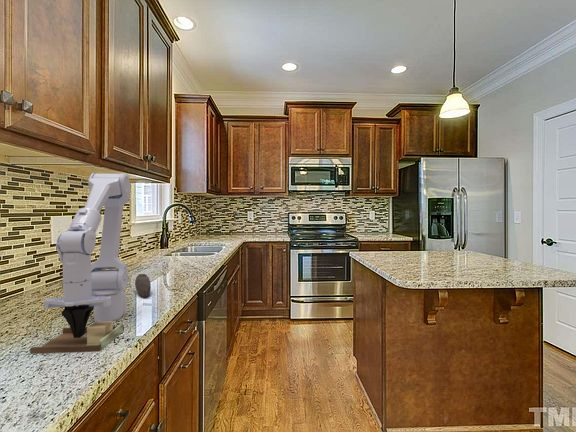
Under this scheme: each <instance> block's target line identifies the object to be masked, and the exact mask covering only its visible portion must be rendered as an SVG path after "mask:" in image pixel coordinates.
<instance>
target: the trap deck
mask: <svg viewBox="0 0 576 432" xmlns="http://www.w3.org/2000/svg"><path fill="white" fill-rule="evenodd" d="M87 327H88V326H86V328H85V333H84V335H87ZM124 331H125V325H123V323H120V324H119V325H115V326H114V325H113V330H112V331H111V332H110V333H108V334H107V335H106V336H105V337H103V338H102V339H101V340H100V341H98V342H99V344H87V336H84V335H83V336H82V337H80V338H74V336H73V333H72V330H71V328H70V327H63V328H62V333H61V334H59V335H58V336H56V337H55V338H53V339H52V340H50V341H48V342H46V343H44V345H42V346H31V347H30V348H29V354H30V355H33V354H35V355H36V354H62V353H63V354H64V353H92V352H93V353H95V352H101V351H102V350H104V349H105V348H106V347H107V346H109V344H111V343H112V342H113V341H114V340H115V339H116V338H118V336H119V335H121V334H122V333H123V332H124Z"/></svg>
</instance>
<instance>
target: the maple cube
mask: <svg viewBox="0 0 576 432" xmlns="http://www.w3.org/2000/svg"><path fill="white" fill-rule="evenodd" d="M113 323H114V322H113V321H101V322H96V321H95V322H93V323H92V324H90V325H89V326H86V327H87V333H86V337H87V344H99V342H98V341H100V340H101V339H102V338H103V337H105V336H106V335H107V334H108V333H110V332H111V331H112V330H113V326H114V325H113Z"/></svg>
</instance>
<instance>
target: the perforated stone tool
mask: <svg viewBox="0 0 576 432" xmlns="http://www.w3.org/2000/svg"><path fill="white" fill-rule="evenodd" d="M134 285H135V286H134V287H135V289H136V292H137V294H139V296H141V297H148V296H149V295H150V293H151V289H152V284H151V281H150V277H149V276H148V275H147V274H146V273H139V274H137V276H136V277H135V281H134Z"/></svg>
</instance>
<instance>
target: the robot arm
mask: <svg viewBox="0 0 576 432" xmlns="http://www.w3.org/2000/svg"><path fill="white" fill-rule="evenodd" d="M87 183H88V188H89V195H88V197H87V200H86V203H85V205H84V207H81V208H78V210H77V211H76V212H75V215H74V217H73V219H72V220H71V223H70V225H69V226H68V229H67V230H64V231H63V232H61V233H59V235H58V236H57V239H56V243H55V249H56V251H57V253H58V255H59V256H58V257H59V258H58V259H59V261H60V263H62V286H63V287H62V290H63V291H62V292H63V293H62V295H63V296H61V297H49V298H47V299H44V300H43V309H51V308H64V309H63V310H62V311H61V315H62V317H63V318H64V319H65V320H66V322H67V324H68V326H69V328H71V330H72V333H73V336H74V338H80V337H84V333H85V328H86V327H87V324H88V321H89V319H90V316H91V313H92V312H93V321H95V322H101V321H117V320H119V319H121V318H122V317H123V315H124V314H128V312H127V311H128V307H127V305H128V304H127V303H128V301H127V299H128V298H127V293H126V292H125V291H124V290H125V289H126V288H127V286H128V283H129V275H128V274H129V273H128V265H127V264H126V263H125V262H123V260H121V259H119V255H120V254H119V253H120V243H121V232H122V223H123V222H122V221H123V211H124V206H125V205H126V204H128V203H129V201H130V197H131V181H130V177H129V175H127V173H125V172H124V173H96V172H93V173H91V174H90V176H89V177H88V181H87ZM103 207H104V213H103V216H102V214H101V213H100V212H101V211H102V209H103ZM102 217H103V223H102V231H101V232H102V233H101V241H100V248H99V249H100V250H99V257H98V259H96V260H95V261H94V262H93V263H92V253H93V252H94V251H95V248H96V239H97V234H96V232H97V230H98V228H99V225H100V224H101V221H102ZM92 295H93V296H92ZM93 308H94V310H93Z"/></svg>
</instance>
